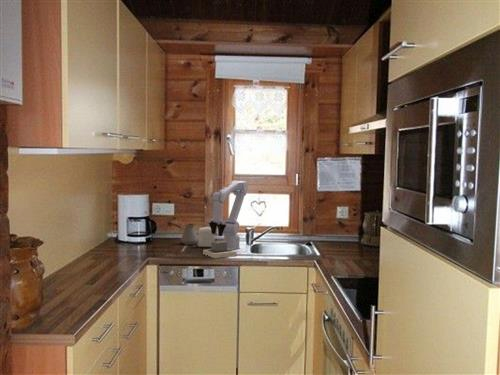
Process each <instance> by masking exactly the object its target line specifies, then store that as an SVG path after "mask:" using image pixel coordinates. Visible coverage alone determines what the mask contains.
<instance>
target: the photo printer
mask: <svg viewBox="0 0 500 375" xmlns="http://www.w3.org/2000/svg"><path fill="white" fill-rule="evenodd" d="M197 233H198V235H197V237H198V242H197V246H198V247H199V248H200V247H203V248H204V247H206V248H211V243H212V242H215V234H212V232H211V227H210V226H205V227H200V228H199V229H198V232H197Z"/></svg>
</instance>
